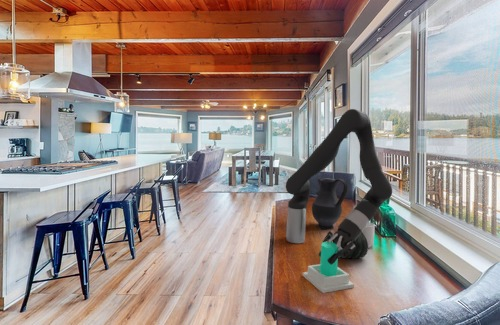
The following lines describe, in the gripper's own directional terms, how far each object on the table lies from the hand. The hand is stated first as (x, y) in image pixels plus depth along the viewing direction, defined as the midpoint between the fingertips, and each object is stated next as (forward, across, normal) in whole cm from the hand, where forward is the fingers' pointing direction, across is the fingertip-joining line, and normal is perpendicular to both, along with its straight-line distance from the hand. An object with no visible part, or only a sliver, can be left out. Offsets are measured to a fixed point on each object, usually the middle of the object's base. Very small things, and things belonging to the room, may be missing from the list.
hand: (324, 259), depth 105 cm
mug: (-24, -27, +36) cm, 51 cm away
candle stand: (+5, 0, +7) cm, 9 cm away
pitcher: (-23, -55, +36) cm, 70 cm away
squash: (-12, -17, +24) cm, 32 cm away
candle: (+2, 0, +5) cm, 6 cm away
